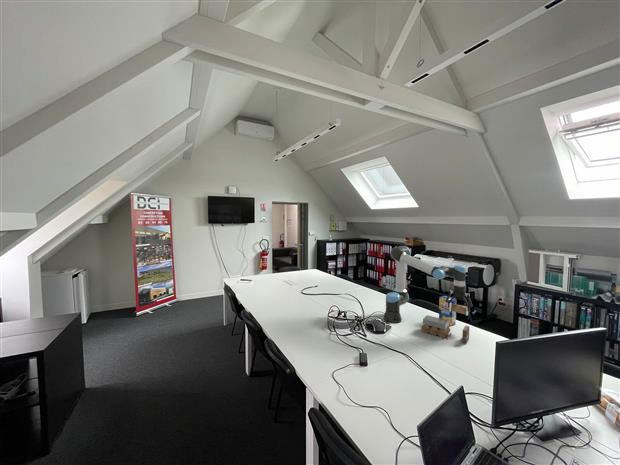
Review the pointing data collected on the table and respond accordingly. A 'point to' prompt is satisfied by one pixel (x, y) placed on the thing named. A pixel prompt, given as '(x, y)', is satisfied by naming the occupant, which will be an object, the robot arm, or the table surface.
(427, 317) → the slab
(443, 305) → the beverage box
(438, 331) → the bed rollers
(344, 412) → the table surface
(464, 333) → the cradle and stop
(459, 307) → the roller
